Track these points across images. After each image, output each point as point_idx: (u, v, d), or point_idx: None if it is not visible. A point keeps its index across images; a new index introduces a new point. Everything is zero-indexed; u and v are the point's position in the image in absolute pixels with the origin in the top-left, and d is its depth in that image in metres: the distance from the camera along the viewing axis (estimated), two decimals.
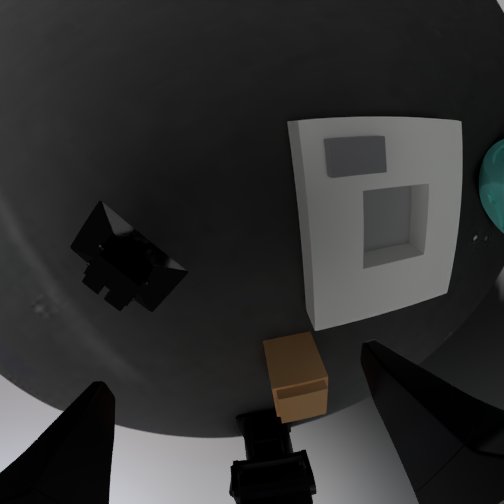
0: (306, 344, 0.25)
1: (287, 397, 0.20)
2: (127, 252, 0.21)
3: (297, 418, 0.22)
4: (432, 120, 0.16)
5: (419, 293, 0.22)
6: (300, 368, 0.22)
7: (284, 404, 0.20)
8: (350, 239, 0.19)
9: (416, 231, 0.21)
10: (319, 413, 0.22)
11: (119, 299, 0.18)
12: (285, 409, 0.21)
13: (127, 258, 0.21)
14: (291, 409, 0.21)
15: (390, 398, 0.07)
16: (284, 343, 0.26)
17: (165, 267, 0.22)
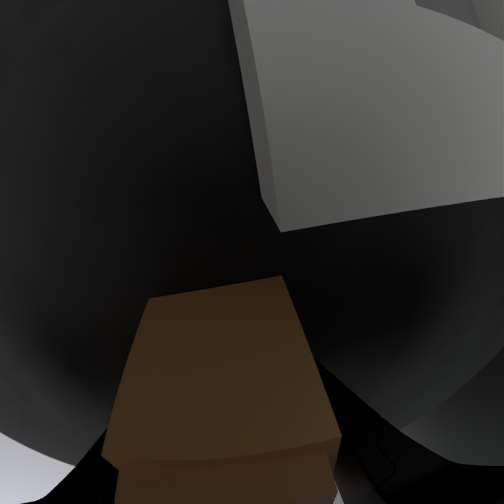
0: (264, 309, 0.08)
1: None
2: None
3: None
4: None
5: None
6: (226, 390, 0.05)
7: None
8: None
9: (497, 24, 0.04)
10: None
11: None
12: None
13: None
14: None
15: None
16: (199, 306, 0.09)
17: None
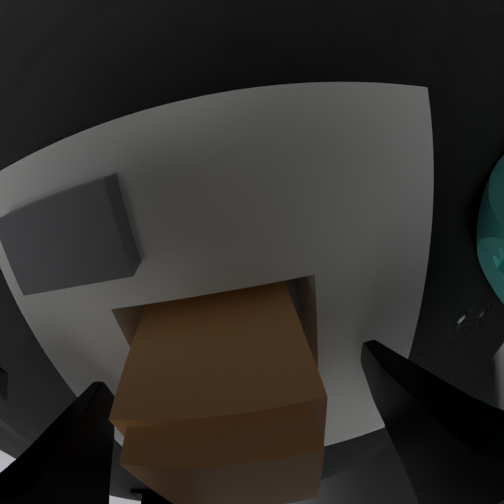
0: (260, 290, 0.09)
1: (153, 464, 0.04)
2: None
3: None
4: (317, 88, 0.06)
5: None
6: (225, 358, 0.06)
7: (155, 480, 0.04)
8: None
9: None
10: (296, 499, 0.06)
11: None
12: (170, 491, 0.05)
13: None
14: (192, 493, 0.05)
15: (390, 398, 0.07)
16: None
17: None
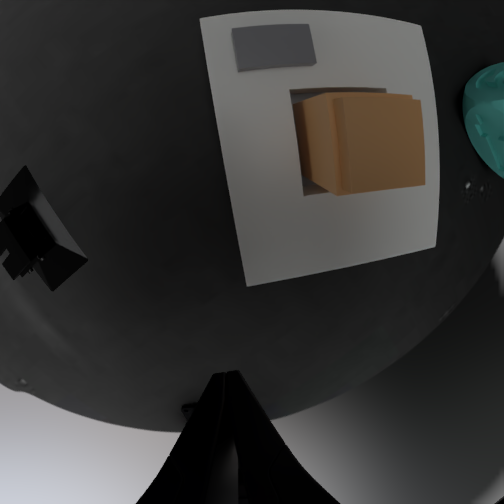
0: None
1: (358, 98, 0.10)
2: (36, 224, 0.17)
3: (380, 182, 0.11)
4: (379, 18, 0.11)
5: (395, 242, 0.17)
6: None
7: (354, 117, 0.10)
8: (279, 152, 0.15)
9: None
10: (415, 179, 0.11)
11: (13, 268, 0.14)
12: (357, 137, 0.10)
13: (35, 230, 0.17)
14: (368, 141, 0.10)
15: None
16: None
17: (67, 248, 0.18)
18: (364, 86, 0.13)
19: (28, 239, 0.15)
